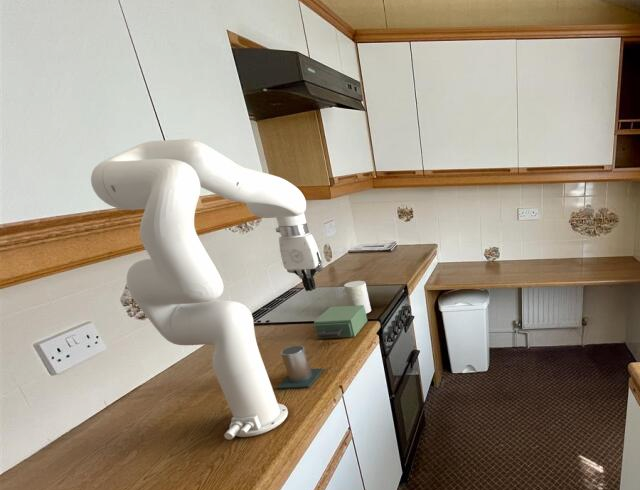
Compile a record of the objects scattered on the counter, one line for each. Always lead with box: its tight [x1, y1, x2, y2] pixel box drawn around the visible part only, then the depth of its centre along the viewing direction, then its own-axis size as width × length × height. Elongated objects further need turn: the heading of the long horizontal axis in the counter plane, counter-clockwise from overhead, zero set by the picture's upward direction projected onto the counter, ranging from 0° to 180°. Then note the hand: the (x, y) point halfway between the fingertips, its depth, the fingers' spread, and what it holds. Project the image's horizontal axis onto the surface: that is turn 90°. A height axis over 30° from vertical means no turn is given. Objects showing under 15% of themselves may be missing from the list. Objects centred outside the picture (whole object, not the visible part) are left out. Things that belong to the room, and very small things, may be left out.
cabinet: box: [313, 305, 368, 340], centre depth 150 cm, size 15×13×7 cm
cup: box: [343, 280, 372, 315], centre depth 166 cm, size 8×8×12 cm
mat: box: [276, 368, 324, 390], centre depth 119 cm, size 10×9×1 cm
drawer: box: [314, 322, 353, 339], centre depth 147 cm, size 18×12×5 cm, turn 1°
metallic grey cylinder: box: [280, 344, 312, 383], centre depth 117 cm, size 6×6×9 cm
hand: (310, 289), depth 128 cm, fingers closed
